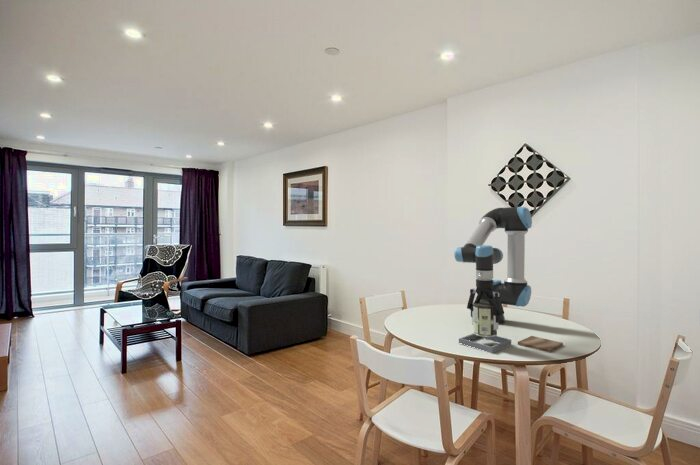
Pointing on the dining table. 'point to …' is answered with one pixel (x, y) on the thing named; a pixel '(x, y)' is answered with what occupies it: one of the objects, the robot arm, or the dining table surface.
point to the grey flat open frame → (503, 343)
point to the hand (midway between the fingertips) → (485, 326)
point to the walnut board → (540, 343)
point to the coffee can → (484, 319)
